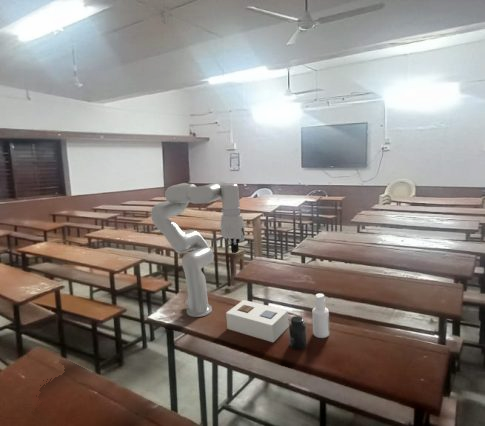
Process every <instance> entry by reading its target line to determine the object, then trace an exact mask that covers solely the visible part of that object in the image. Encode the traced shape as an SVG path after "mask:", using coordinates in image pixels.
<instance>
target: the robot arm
mask: <svg viewBox="0 0 485 426" xmlns="http://www.w3.org/2000/svg"><path fill="white" fill-rule="evenodd" d="M164 198H165V199H166V200H165V201H162V202H159V203H157V204H155V205H154V206H153V207H152V208H151V211H150V218H151V221H152V223H153V225H154V226H155V227H156V229H158V231H160V232H161V234H163V236H164V237H165V239H166V241H167V242H168V243H169V244H170V246H171V247H172V249H173V251H175V253H177V254H180V255H181V254H184V253H186V254H184V255H183V257H182V258H181V266H182V269H183V271H184V275H185V283H186V290H187V297H188V299H186V300H185V303H184V306H187V309H186V314H187V315H188V316H189V317H192V318H201V317H204V316H207V315H210V313H211V312H212V311H213V308H212V305H210V304H209V301H208V300H209V298H208V291H207V289H208V288H207V281H206V276H205V274H204V272H203V271H202V269H203V268H204V267H206V266H209V264H211V263H212V262H214V258H215V254H214V252H213V250H212V248H211V247H210V246H209V244H208V243H207V241H206V240H205V239H204V237H203V236H202V235H201V234H200V232H198V231H197V230H195V229H190V230H186V231H183V230H182V229H181V227H179V226H180V225H178V224H177V223H176V222H175V221H172V220H171V218H173V217H177V216H179V215H181V214H182V213H184V212H185V210H186V208H187V207H188V206H189V203H192V204H193V205H194V204H197V205H199V204H210V203H213V202H216V201H218V200H221V204H222V208H221V210H220V211H221V212H222V215H221V219H220V234H221V236H222V237H223V239H225V240H227V242H228V243H229V245H230V250H231V253H232V254H236V253H238V252H239V251H240V248H239V243H240V242H243V241H244V240H245V239H246V238H245V235H246V230H245V223H244V218H243V215H242V214H241V207H240V191H239V185H238V184H237V183H233V182H228V183H227V182H222V181H217V182H213V183H209V184H207V185H201V186H197V185H196V184H193V183H188V182H187V183H186V182H182V183H178V184H174V185H170V186H169V187H167V188H166V190H165V192H164Z"/></svg>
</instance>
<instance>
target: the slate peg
mask: <svg viewBox="0 0 485 426" xmlns="http://www.w3.org/2000/svg"><path fill="white" fill-rule="evenodd" d="M275 315H276V312H272V311H268V310H266V311H265V312H264V313H262V314H261V315H260V316H261V317H264V318H268V319H272V318H273V317H274V316H275Z"/></svg>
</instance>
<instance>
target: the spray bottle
mask: <svg viewBox="0 0 485 426" xmlns="http://www.w3.org/2000/svg"><path fill="white" fill-rule="evenodd" d="M325 301H326V299H325V294H324V293H316V294H315V305H314V308H312V310H311V313H312V314H311V316H312V334H313V336H314V337H316V338H319V339H325V338H327V337H329V336H330V311H329V309H328V308H327V307H326V302H325Z"/></svg>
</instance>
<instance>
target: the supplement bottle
mask: <svg viewBox="0 0 485 426" xmlns="http://www.w3.org/2000/svg"><path fill="white" fill-rule="evenodd" d="M290 320H291V321H290V323H289V327H288V333H289V335H288V336H289V337H288V338H289V345H290V347H291V348H292V349H293V350H299V351H300V350H303V349H305V348H306V346H307V327H306V324H304V318H303V317H302V316H300V315H299V316H298V315H295V316H292V317H291V318H290Z"/></svg>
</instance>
